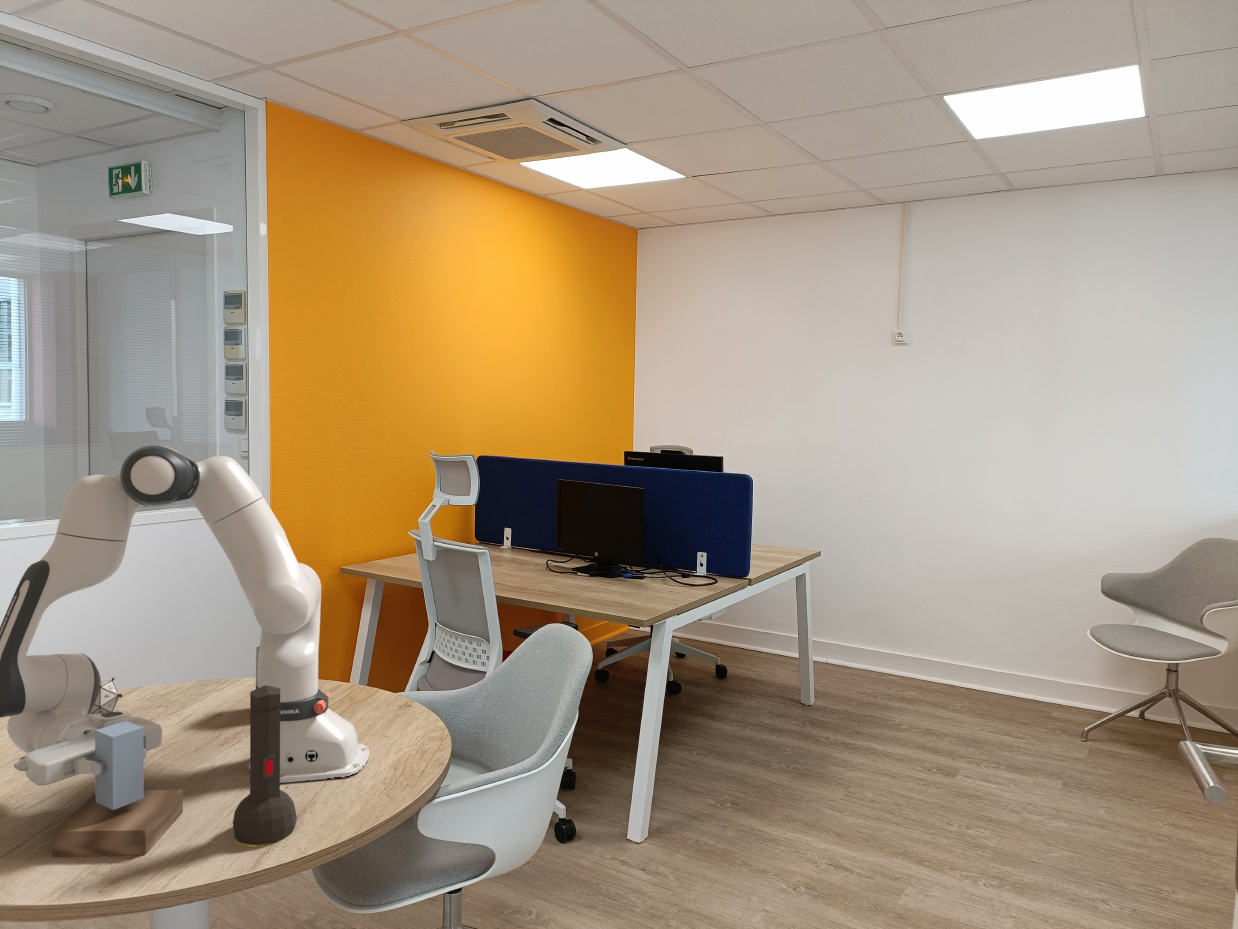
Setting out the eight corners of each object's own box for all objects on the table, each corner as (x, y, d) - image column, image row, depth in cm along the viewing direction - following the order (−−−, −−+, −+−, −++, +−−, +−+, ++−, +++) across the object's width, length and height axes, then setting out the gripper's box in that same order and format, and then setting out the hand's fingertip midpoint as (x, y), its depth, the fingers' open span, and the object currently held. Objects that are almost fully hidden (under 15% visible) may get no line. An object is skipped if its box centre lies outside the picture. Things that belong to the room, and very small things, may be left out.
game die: (105, 733, 190) (103, 707, 184) (69, 719, 190) (66, 692, 184) (132, 702, 197) (131, 676, 191) (97, 688, 197) (96, 662, 191)
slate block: (126, 790, 144) (125, 720, 143) (143, 798, 141) (143, 727, 140) (95, 801, 140) (94, 730, 139) (113, 810, 137) (112, 737, 136)
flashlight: (226, 826, 144) (240, 853, 136) (226, 681, 142) (240, 699, 134) (287, 811, 150) (303, 836, 142) (288, 672, 148) (304, 688, 140)
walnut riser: (182, 812, 148) (182, 789, 148) (145, 854, 135) (145, 830, 134) (98, 813, 147) (97, 790, 147) (51, 856, 133) (51, 831, 133)
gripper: (7, 744, 137) (54, 765, 130) (134, 707, 155) (180, 724, 148) (8, 783, 138) (54, 805, 131) (134, 741, 155) (180, 759, 148)
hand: (122, 762), depth 140 cm, fingers closed on slate block, 5 cm apart
